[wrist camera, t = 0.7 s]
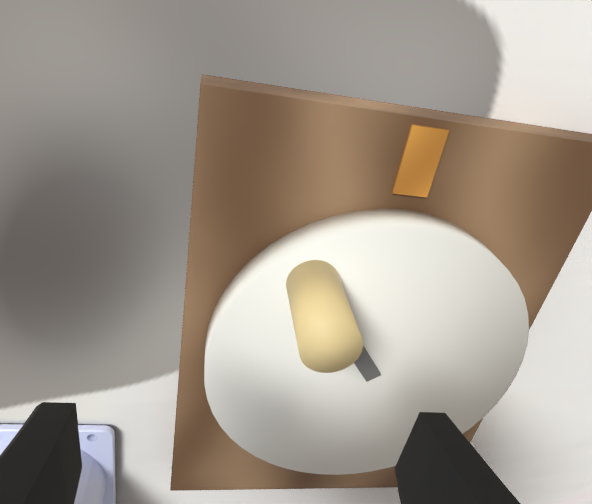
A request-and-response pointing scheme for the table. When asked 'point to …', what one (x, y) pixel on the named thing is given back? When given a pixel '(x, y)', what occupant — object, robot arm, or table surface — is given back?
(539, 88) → the table surface
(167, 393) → the table surface
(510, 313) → the dial
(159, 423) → the table surface
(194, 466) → the brown flat wooden board
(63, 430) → the robot arm
